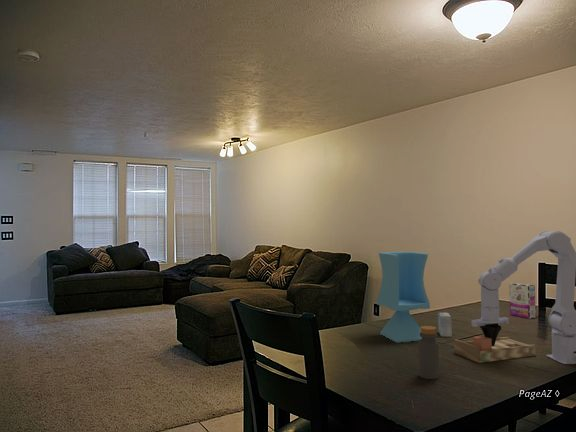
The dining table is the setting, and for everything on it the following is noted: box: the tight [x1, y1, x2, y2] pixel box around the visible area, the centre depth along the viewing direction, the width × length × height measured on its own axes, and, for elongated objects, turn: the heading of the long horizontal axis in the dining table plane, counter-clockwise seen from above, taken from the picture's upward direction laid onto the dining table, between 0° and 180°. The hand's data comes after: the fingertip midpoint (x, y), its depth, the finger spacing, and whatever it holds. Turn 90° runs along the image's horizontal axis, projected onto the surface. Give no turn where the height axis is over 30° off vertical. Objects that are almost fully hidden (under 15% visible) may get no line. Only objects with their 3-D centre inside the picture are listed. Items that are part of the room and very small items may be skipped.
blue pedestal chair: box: [376, 251, 431, 344], centre depth 185 cm, size 16×16×35 cm
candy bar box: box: [508, 282, 537, 320], centre depth 223 cm, size 11×5×16 cm, turn 25°
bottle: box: [418, 325, 440, 380], centre depth 138 cm, size 6×6×15 cm
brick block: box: [472, 335, 492, 351], centre depth 155 cm, size 4×4×4 cm
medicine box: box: [437, 312, 453, 338], centre depth 189 cm, size 8×4×9 cm, turn 168°
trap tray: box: [453, 336, 536, 364], centre depth 160 cm, size 24×12×5 cm, turn 108°
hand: (490, 345), depth 156 cm, fingers closed
